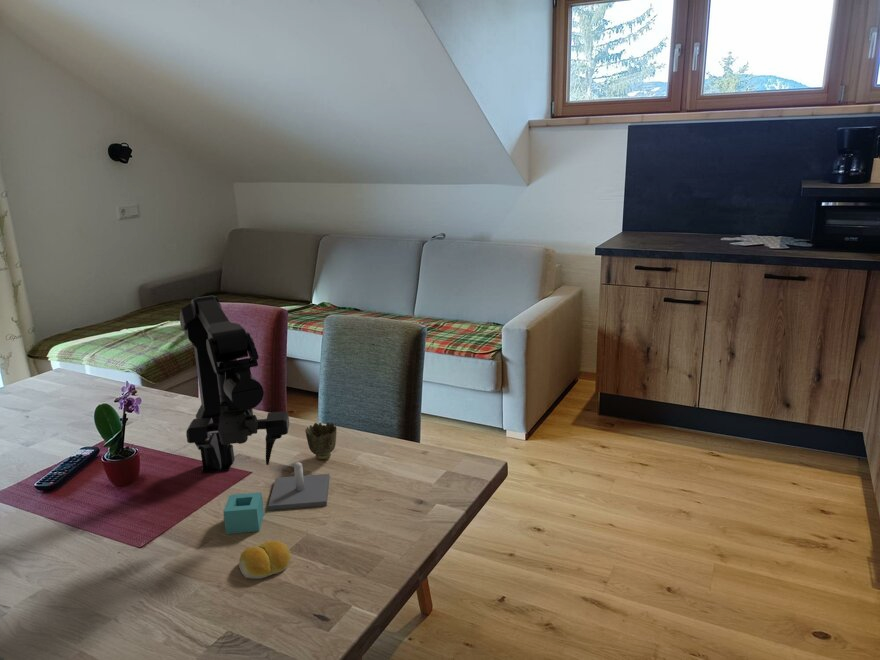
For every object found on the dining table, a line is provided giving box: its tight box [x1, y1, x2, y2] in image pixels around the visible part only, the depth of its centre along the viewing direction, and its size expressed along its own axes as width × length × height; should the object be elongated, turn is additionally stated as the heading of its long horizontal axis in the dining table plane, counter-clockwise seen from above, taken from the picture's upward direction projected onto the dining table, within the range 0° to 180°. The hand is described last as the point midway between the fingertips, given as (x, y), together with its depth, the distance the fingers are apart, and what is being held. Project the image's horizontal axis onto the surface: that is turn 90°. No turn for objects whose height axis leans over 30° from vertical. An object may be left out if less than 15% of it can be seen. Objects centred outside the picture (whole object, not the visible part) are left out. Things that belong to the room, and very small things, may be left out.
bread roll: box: [238, 540, 292, 580], centre depth 119 cm, size 8×9×4 cm
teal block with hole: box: [222, 491, 265, 535], centre depth 132 cm, size 6×6×5 cm
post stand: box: [268, 461, 330, 511], centre depth 142 cm, size 12×12×7 cm
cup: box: [304, 422, 338, 462], centre depth 158 cm, size 8×7×8 cm
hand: (244, 466), depth 130 cm, fingers open, 9 cm apart
